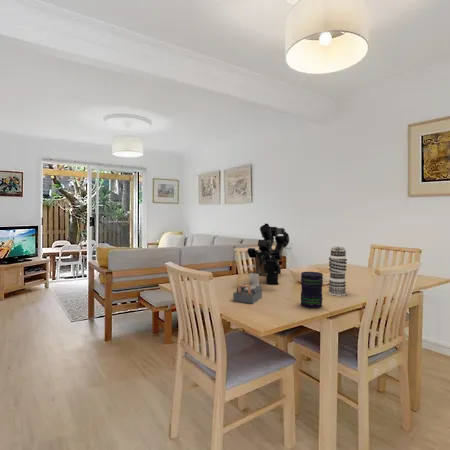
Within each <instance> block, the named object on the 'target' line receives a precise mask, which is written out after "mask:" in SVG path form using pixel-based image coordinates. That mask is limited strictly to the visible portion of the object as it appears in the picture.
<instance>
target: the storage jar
mask: <svg viewBox="0 0 450 450" xmlns="http://www.w3.org/2000/svg"><path fill="white" fill-rule="evenodd" d="M323 276H324V274H323V273H322V272H316V271H302V272H301V276H300V285H301V292H300V306H301V307H303V308H307V309H313V308H315V309H321V308H322V307H323V282H324V278H323ZM320 307H321V308H320Z"/></svg>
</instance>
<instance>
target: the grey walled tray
mask: <svg viewBox="0 0 450 450" xmlns="http://www.w3.org/2000/svg"><path fill="white" fill-rule="evenodd" d="M242 285H247V284H246V283H242ZM245 288H247V287H241V293H238V286H237V287H236V291H235V292H233V293H232V294H233V295H232V300H233V302H235V303H236V302H237V303H244V304H251V305H253V304H255V303H256V302H258V301H259V300H260V299H262V298H263V289H262V285H258V287H256V288H254V289H253V290H252V291H251V294H248V291H244V289H245Z"/></svg>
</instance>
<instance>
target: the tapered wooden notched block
mask: <svg viewBox="0 0 450 450" xmlns="http://www.w3.org/2000/svg"><path fill="white" fill-rule="evenodd" d="M259 276H260V275H259V274H256V273H253V272H252V273H251V272H250V273H249V285H250V286H251V291H252V290H253V289H254V288H256V287H258V286H259V278H260V277H259ZM244 291H248V287H246V288H245V289H244Z"/></svg>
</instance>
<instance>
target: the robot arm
mask: <svg viewBox="0 0 450 450" xmlns="http://www.w3.org/2000/svg"><path fill="white" fill-rule="evenodd" d="M259 231H260V234H261V237H262V238H263V239H258V241H257V247H258V249H256V248H253V247H248V249H247V250H246V251H247V255H248V257H249V258H251V259H252V258H253V259H255V257H256V256H257V257H258V259H259V263H260V266H262V265H264V270H265V273H267V275H266V276H265V278H266V279H265V280H266V284H267V285H279V275H281V273H282V271H281V266H280V262H279V261H281V260H282V258H283V257H282V253H283V250H284V249H285V248H287V247H288V245H289V244H290V235H289V234H288V232H286V230H285V228H283V227H277V226H270V225H269V223H264V224H263V225H261V226H260V227H259ZM274 243H275V244H276V245H275V247H274V249H273V244H274ZM256 250H257V251H256ZM271 250H273V252H270V251H271ZM271 256H272V257H271Z"/></svg>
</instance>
